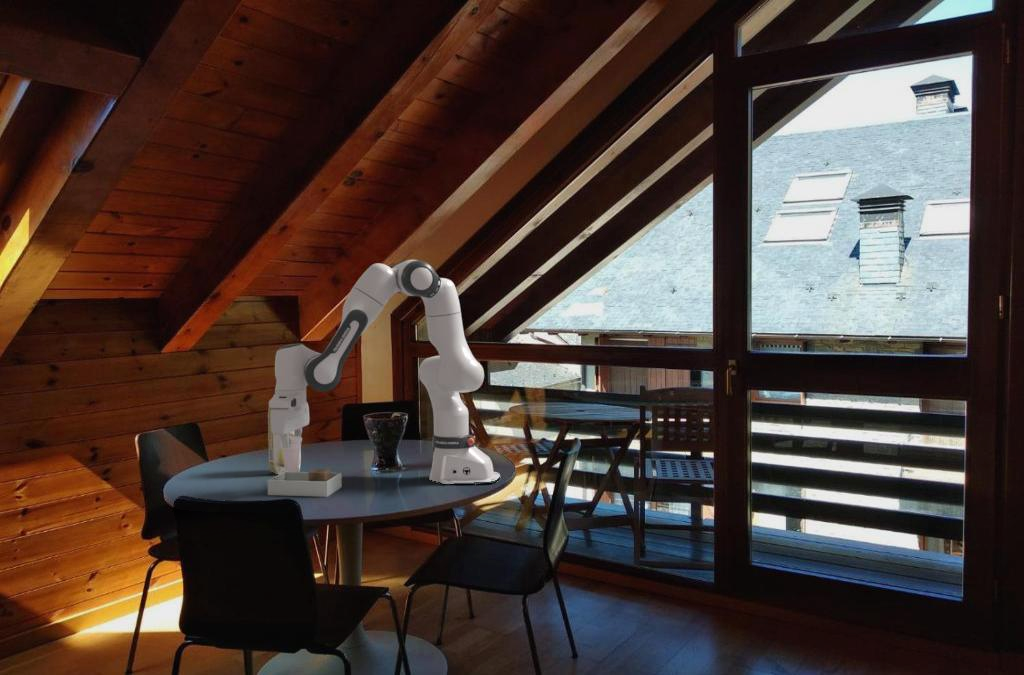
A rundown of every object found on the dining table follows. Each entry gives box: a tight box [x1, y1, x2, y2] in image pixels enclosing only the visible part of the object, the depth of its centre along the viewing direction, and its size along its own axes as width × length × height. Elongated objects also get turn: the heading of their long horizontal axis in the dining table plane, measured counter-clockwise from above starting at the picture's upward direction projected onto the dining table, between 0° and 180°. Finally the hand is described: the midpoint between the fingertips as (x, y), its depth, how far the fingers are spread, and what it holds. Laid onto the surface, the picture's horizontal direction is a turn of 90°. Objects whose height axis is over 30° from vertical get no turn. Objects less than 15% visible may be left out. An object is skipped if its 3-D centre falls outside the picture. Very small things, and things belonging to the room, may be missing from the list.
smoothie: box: [280, 432, 303, 472], centre depth 242 cm, size 6×6×14 cm
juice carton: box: [267, 407, 302, 475], centre depth 271 cm, size 9×8×24 cm
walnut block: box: [308, 468, 332, 482], centre depth 242 cm, size 5×5×6 cm
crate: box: [267, 471, 343, 498], centre depth 242 cm, size 18×12×5 cm, turn 82°
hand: (291, 445), depth 242 cm, fingers closed on smoothie, 6 cm apart
